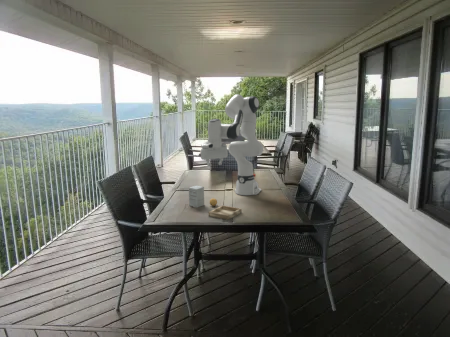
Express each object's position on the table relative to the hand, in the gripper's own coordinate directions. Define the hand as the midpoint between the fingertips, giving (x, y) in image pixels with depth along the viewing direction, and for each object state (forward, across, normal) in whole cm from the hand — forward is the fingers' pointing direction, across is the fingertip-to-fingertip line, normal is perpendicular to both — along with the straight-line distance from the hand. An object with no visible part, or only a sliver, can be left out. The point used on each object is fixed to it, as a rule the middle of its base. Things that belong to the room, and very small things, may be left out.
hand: (214, 165), depth 229 cm
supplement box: (+27, +9, -8) cm, 30 cm away
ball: (+24, +1, 0) cm, 24 cm away
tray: (+27, +7, +18) cm, 34 cm away
